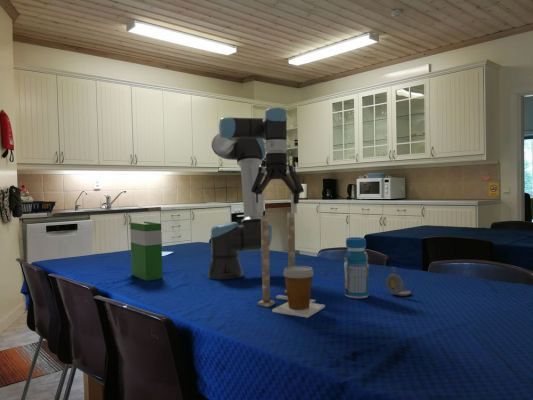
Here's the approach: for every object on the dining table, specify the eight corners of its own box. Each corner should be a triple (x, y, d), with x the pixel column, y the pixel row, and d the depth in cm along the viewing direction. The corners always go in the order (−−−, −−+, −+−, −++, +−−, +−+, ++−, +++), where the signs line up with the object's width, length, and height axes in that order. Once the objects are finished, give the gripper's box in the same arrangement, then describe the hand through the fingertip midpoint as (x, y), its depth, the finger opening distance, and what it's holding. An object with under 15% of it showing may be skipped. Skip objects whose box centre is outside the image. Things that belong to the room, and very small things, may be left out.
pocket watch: (410, 292, 146) (410, 264, 145) (410, 298, 138) (410, 268, 137) (386, 291, 148) (386, 263, 148) (385, 297, 140) (385, 267, 140)
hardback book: (131, 274, 189) (130, 222, 188) (147, 272, 193) (145, 221, 193) (146, 280, 175) (144, 224, 174) (162, 278, 179) (161, 223, 179)
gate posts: (258, 305, 133) (255, 215, 133) (290, 290, 152) (288, 212, 151) (268, 306, 131) (266, 216, 131) (299, 292, 150) (298, 212, 149)
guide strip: (273, 299, 139) (273, 297, 139) (279, 297, 143) (279, 294, 143) (310, 305, 132) (310, 302, 132) (315, 302, 135) (315, 299, 135)
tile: (272, 311, 126) (272, 309, 126) (291, 302, 136) (291, 300, 136) (307, 317, 119) (307, 314, 119) (324, 307, 129) (324, 304, 129)
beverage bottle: (355, 300, 137) (354, 240, 136) (339, 294, 144) (338, 238, 144) (374, 296, 141) (373, 238, 140) (358, 291, 148) (357, 236, 148)
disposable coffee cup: (313, 312, 122) (312, 271, 122) (281, 310, 124) (280, 271, 123) (315, 303, 131) (315, 265, 131) (286, 302, 133) (285, 265, 133)
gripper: (241, 153, 149) (242, 212, 150) (303, 150, 136) (303, 214, 137) (252, 154, 155) (253, 210, 156) (312, 151, 142) (313, 212, 143)
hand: (277, 212), depth 146 cm, fingers open, 13 cm apart
